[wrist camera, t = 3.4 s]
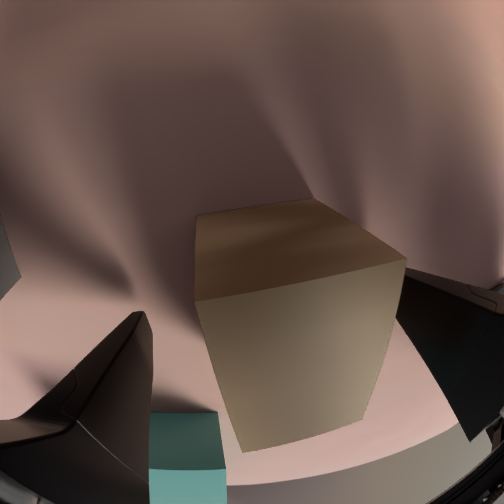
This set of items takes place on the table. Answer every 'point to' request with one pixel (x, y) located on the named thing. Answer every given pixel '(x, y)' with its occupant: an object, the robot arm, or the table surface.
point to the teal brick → (186, 459)
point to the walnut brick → (293, 316)
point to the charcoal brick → (6, 264)
